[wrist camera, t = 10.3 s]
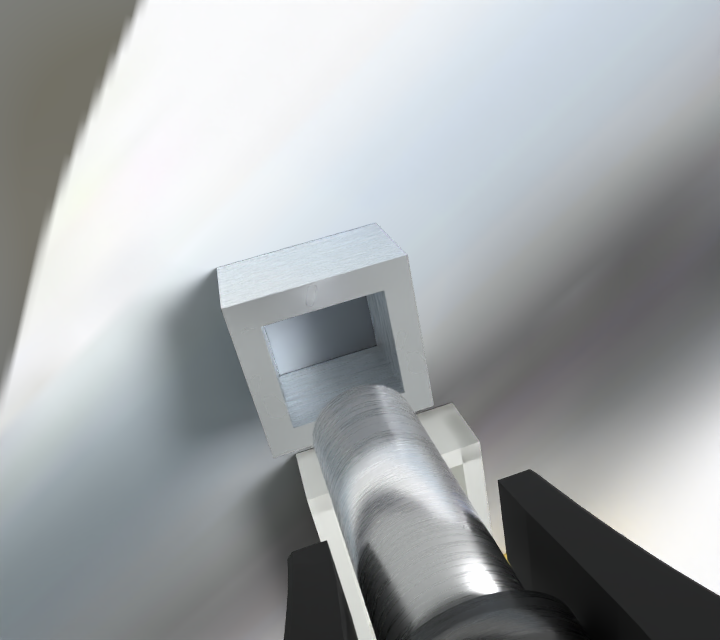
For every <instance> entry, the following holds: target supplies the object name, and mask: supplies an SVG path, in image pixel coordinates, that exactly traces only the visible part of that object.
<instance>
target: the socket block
mask: <svg viewBox="0 0 720 640" xmlns="http://www.w3.org/2000/svg"><path fill="white" fill-rule="evenodd" d="M217 276H218V285H219V295H220V304H221V310H222V313H223V316H224V319H225V322H226V324H227V327H228V330H229V333H230V336H231V339H232V342H233V344H234V347H235V350H236V353H237V356H238V359H239V361H240V364H241V367H242V370H243V373H244V376H245V378H246V381H247V384H248V387H249V390H250V393H251V395H252V398H253V401H254V404H255V407H256V410H257V413H258V415H259V418H260V421H261V424H262V427H263V430H264V432H265V435H266V438H267V441H268V444H269V447H270V449H271V452H272V455H273V458H276V457H279V456H282V455H285V454H288V453H292V452H295V451H298V450H301V449H304V448H307V447H310V446H313V439H312V434H313V428H314V424H315V421H316V419H317V417H318V415H319V413H320V412H321V411H322V409H323V408H324V407H325V406H326V405H327V404H328V402H330V401H331V400H332V399H333V398H334V397H336V396H337V395H339V394H340V393H342V392H344V391H346V390H349V389H351V388H354V387H358V386H362V385H382V386H386V387H389V388H392V389H394V390H396V391H397V392H399V393H400V394H401V395H402V396H403V397H404V398H405V399H406V400H407V401H408V403H409V404H410V406H411V408H412V409H413V411H414V412H416V411H419V410H422V409H425V408H428V407H432V406H434V403H433V398H432V392H431V386H430V380H429V375H428V369H427V363H426V357H425V352H424V346H423V340H422V334H421V329H420V323H419V317H418V311H417V306H416V300H415V294H414V288H413V283H412V277H411V271H410V265H409V260H408V254H407V253H406V252H405V251H404V250H403V249H402V248H401V247H400V246H399V245H398V244H397V243H396V242H395V241H394V240H393V239H392V238H391V237H390V236H389V235H388V234H387V233H386V232H385V231H384V230H383V229H382V228H381V227H380V226H379V225H378V224H377V223H374V224H371V225H367V226H364V227H360V228H357V229H353V230H350V231H346V232H343V233H339V234H335V235H332V236H328V237H325V238H321V239H318V240H314V241H311V242H307V243H303V244H300V245H296V246H293V247H289V248H286V249H282V250H279V251H275V252H272V253H268V254H264V255H261V256H257V257H254V258H250V259H247V260H243V261H240V262H236V263H233V264H229V265H225V266H222V267H218V268H217ZM363 296H366V298H367V302H368V307H369V311H370V316H371V321H372V325H373V330H374V334H375V339H376V343H377V346H375V347H371V348H368V349H365V350H362V351H358V352H355V353H352V354H349V355H346V356H342V357H339V358H336V359H333V360H329V361H326V362H323V363H320V364H317V365H313V366H310V367H307V368H304V369H300V370H297V371H294V372H291V373H288V374H284V375H281V376H280V375H279V372H278V369H277V366H276V363H275V359H274V356H273V353H272V350H271V347H270V344H269V341H268V337H267V334H266V331H265V328H264V326H265V325H269V324H272V323H276V322H279V321H282V320H286V319H289V318H292V317H296V316H299V315H302V314H306V313H309V312H312V311H316V310H319V309H323V308H326V307H329V306H333V305H336V304H339V303H343V302H346V301H349V300H353V299H356V298H359V297H363Z"/></svg>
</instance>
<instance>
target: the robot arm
mask: <svg viewBox="0 0 720 640" xmlns="http://www.w3.org/2000/svg"><path fill="white" fill-rule="evenodd" d="M498 486H499V495H500V503H501V511H502V520H503V528H504V537H505V545H506V553H507V560H508V562H509V564H510V566H511V568H512V569H513V571H514V573H515V574H516V576H517V577H518V579H519V581H520V582H521V584H522V585H523V587H524V589H525V590H530V591H537V592H542V593H546V594H549V595H551V596H554V597H556V598H558V599H559V600H561V601H562V602H564V603H565V604H566V605H567V606H568V607H569V608H570V609H571V611H572V612H573V614H574V615H575V617H576V618H577V620H578V621H579V623H580V624H581V626H582V627H583V629H584V630H585V631H586V633H587V634H588V636H589V637H590V639H591V640H720V596H719V595H717V594H716V593H714V592H712V591H710V590H709V589H707V588H705V587H704V586H702V585H700V584H699V583H697V582H695V581H694V580H692V579H690V578H689V577H687V576H685V575H684V574H682V573H680V572H679V571H677V570H675V569H674V568H672V567H670V566H669V565H667V564H666V563H664V562H663V561H661V560H659V559H658V558H656V557H655V556H653V555H652V554H650V553H649V552H647V551H645V550H644V549H642V548H641V547H639V546H638V545H636V544H635V543H633V542H632V541H630V540H629V539H627V538H626V537H624V536H623V535H621V534H620V533H618V532H617V531H615V530H614V529H612V528H611V527H610V526H608V525H607V524H605V523H604V522H602V521H601V520H599V519H598V518H597V517H595V516H594V515H592V514H591V513H590V512H588V511H587V510H585V509H584V508H583V507H581V506H580V505H578V504H577V503H576V502H574V501H573V500H572V499H570V498H569V497H568V496H566V495H565V494H563V493H562V492H561V491H559V490H558V489H557V488H555V487H554V486H553V485H551V484H550V483H549V482H547V481H546V480H545V479H543V478H542V477H541V476H539V475H538V474H537V473H536V472H534V471H532V470H530V469H529V470H526V471H523V472H520V473H518V474H515V475H512V476H509V477H506V478H503V479H500V480H498ZM284 640H358V637H357V634H356V630H355V626H354V623H353V619H352V616H351V613H350V610H349V607H348V603H347V600H346V597H345V594H344V591H343V588H342V585H341V582H340V579H339V576H338V573H337V569H336V566H335V563H334V560H333V557H332V554H331V551H330V548H329V545H328V542H327V540H326V541H323V542H320V543H317V544H314V545H311V546H308V547H305V548H303V549H300V550H297V551H294V552H292V553H291V555H290V556H289V558H288V598H287V612H286V623H285V634H284Z"/></svg>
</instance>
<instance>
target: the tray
mask: <svg viewBox="0 0 720 640" xmlns="http://www.w3.org/2000/svg"><path fill="white" fill-rule="evenodd" d="M416 416H417V417H418V419H419V420H420V422H421V424H422V425H423V427H424V428H425V430H426V432H427V433H428V435H429V437H430V438H431V440H432V441H433V443H434V445H435V446H436V448H437V449H438V451H439V453H440V454H441V456H442V457H443V459H444V461H445V462H446V464H447V465H448V467H449V469H450V470H451V472H452V473H453V475H454V477H455V478H456V480H457V481H458V483H459V485H460V486H461V488H462V489H463V491H464V493H465V494H466V496H467V497H468V499H469V501H470V502H471V504H472V505H473V507H474V509H475V510H476V512H477V513H478V515H479V517H480V518H481V520H482V521H483V523H484V525H485V526H486V528H487V529H488V531H489V533H490V534H491V536H492V529H491V522H490V514H489V507H488V499H487V492H486V484H485V477H484V469H483V462H482V454H481V447H480V441H479V440H478V438H477V437H476V435H475V434H474V433H473V431H472V430H471V428H470V427H469V426H468V424H467V423H466V421H465V420H464V419H463V417H462V416H461V414H460V413H459V411H458V410H457V409H456V407H455V406H454V404H453V403H450V404H447V405H444V406H441V407H438V408H434V409H431V410H428V411H425V412H422V413H419V414H416ZM296 457H297V461H298V465H299V470H300V474H301V478H302V482H303V486H304V490H305V494H306V498H307V501H308V504H309V508H310V511H311V514H312V517H313V520H314V523H315V526H316V529H317V532H318V535H319V538H320V541H321V542H323V541H326V540H327V542H328V545H329V548H330V551H331V554H332V557H333V560H334V563H335V566H336V569H337V573H338V576H339V579H340V582H341V585H342V588H343V591H344V594H345V597H346V600H347V603H348V607H349V610H350V613H351V616H352V619H353V623H354V626H355V630H356V634H357V637H358V640H377V639H376V636H375V633H374V630H373V627H372V624H371V621H370V618H369V615H368V612H367V609H366V606H365V603H364V599H363V596H362V593H361V590H360V587H359V584H358V581H357V578H356V575H355V572H354V569H353V566H352V563H351V560H350V557H349V553H348V550H347V547H346V544H345V541H344V538H343V535H342V532H341V529H340V526H339V523H338V520H337V517H336V514H335V511H334V507H333V504H332V501H331V498H330V495H329V492H328V489H327V486H326V483H325V480H324V477H323V474H322V471H321V468H320V464H319V461H318V458H317V455H316V452H315V449H314V448H313V449H310V450H307V451H304V452H301V453H298V454H296Z"/></svg>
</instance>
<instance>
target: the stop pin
mask: <svg viewBox="0 0 720 640" xmlns="http://www.w3.org/2000/svg"><path fill="white" fill-rule="evenodd" d="M312 439H313V446H314V449H315V452H316V455H317V458H318V461H319V464H320V468H321V471H322V474H323V477H324V480H325V483H326V486H327V489H328V492H329V495H330V498H331V501H332V504H333V507H334V511H335V514H336V517H337V520H338V523H339V526H340V529H341V532H342V535H343V538H344V541H345V544H346V547H347V550H348V553H349V557H350V560H351V563H352V566H353V569H354V572H355V575H356V578H357V581H358V584H359V587H360V590H361V593H362V596H363V599H364V603H365V606H366V609H367V612H368V615H369V618H370V621H371V624H372V627H373V630H374V633H375V636H376V639H377V640H591V639H590V637H589V636H588V634H587V633H586V631H585V630H584V629H583V627H582V626H581V624H580V623H579V621H578V620H577V618H576V617H575V615H574V614H573V612H572V611H571V609H570V608H569V607H568V606H567V605H566V604H565V603H564V602H562V601H561V600H559V599H558V598H556V597H554V596H551V595H549V594H546V593H542V592H537V591H530V590H525V589H524V587H523V585H522V584H521V582H520V581H519V579H518V577H517V576H516V574H515V573H514V571H513V569H512V568H511V566H510V565H509V563H508V561H507V560H506V558H505V557H504V555H503V553H502V552H501V550H500V549H499V547H498V545H497V544H496V542H495V541H494V539H493V537H492V536H491V534H490V533H489V531H488V529H487V528H486V526H485V525H484V523H483V521H482V520H481V518H480V517H479V515H478V513H477V512H476V510H475V509H474V507H473V505H472V504H471V502H470V501H469V499H468V497H467V496H466V494H465V493H464V491H463V489H462V488H461V486H460V485H459V483H458V481H457V480H456V478H455V477H454V475H453V473H452V472H451V470H450V469H449V467H448V465H447V464H446V462H445V461H444V459H443V457H442V456H441V454H440V453H439V451H438V449H437V448H436V446H435V445H434V443H433V441H432V440H431V438H430V437H429V435H428V433H427V432H426V430H425V428H424V427H423V425H422V424H421V422H420V420H419V419H418V417H417V416H416V414H415V412H414V411H413V409H412V408H411V406H410V404H409V403H408V401H407V400H406V399H405V398H404V397H403V396H402V395H401V394H400V393H399V392H397V391H396V390H394V389H392V388H389V387H386V386H382V385H362V386H358V387H354V388H351V389H349V390H346V391H344V392H342V393H340V394H339V395H337V396H336V397H334V398H333V399H332V400H331V401H330V402H328V404H327V405H326V406H325V407H324V408H323V409H322V411H321V412H320V413H319V415H318V417H317V419H316V421H315V424H314V428H313V434H312Z"/></svg>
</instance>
